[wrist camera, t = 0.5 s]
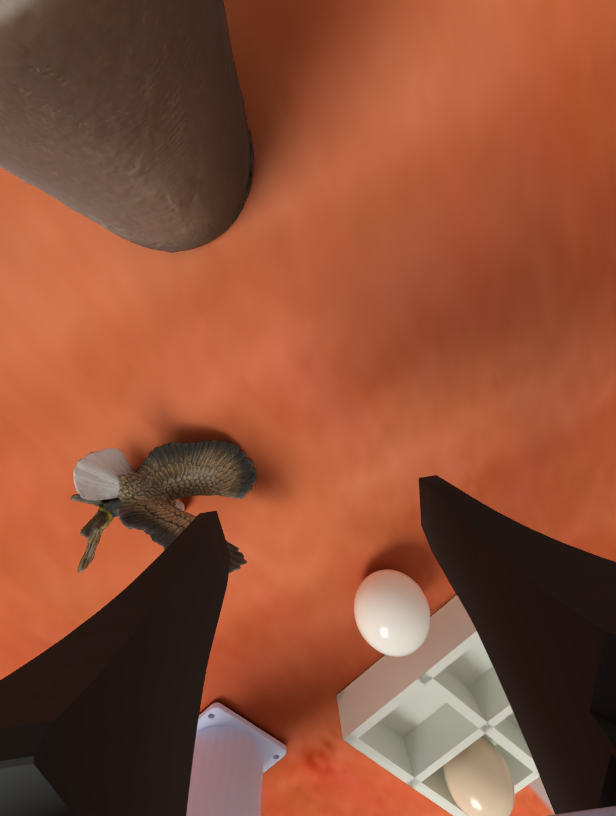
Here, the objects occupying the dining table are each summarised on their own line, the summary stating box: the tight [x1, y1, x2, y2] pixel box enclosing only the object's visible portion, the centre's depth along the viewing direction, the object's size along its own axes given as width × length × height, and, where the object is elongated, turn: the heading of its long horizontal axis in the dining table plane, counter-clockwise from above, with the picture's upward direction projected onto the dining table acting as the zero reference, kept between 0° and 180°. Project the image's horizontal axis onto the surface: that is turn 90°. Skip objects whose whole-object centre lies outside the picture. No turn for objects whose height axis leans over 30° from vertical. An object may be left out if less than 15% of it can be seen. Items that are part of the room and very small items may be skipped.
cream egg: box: [354, 569, 430, 657], centre depth 22 cm, size 5×5×5 cm
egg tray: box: [337, 595, 540, 816], centre depth 26 cm, size 15×15×3 cm
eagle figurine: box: [71, 440, 257, 573], centre depth 19 cm, size 8×7×9 cm
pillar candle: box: [0, 0, 254, 253], centre depth 10 cm, size 10×10×15 cm
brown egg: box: [443, 736, 515, 816], centre depth 26 cm, size 5×5×5 cm
